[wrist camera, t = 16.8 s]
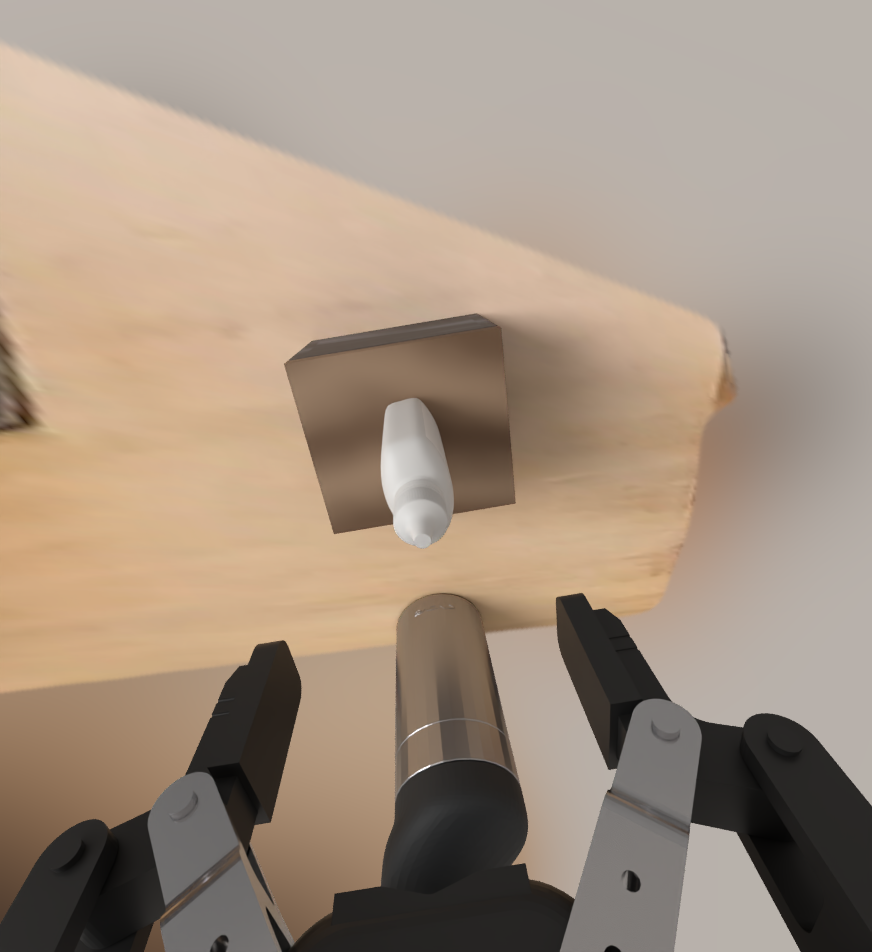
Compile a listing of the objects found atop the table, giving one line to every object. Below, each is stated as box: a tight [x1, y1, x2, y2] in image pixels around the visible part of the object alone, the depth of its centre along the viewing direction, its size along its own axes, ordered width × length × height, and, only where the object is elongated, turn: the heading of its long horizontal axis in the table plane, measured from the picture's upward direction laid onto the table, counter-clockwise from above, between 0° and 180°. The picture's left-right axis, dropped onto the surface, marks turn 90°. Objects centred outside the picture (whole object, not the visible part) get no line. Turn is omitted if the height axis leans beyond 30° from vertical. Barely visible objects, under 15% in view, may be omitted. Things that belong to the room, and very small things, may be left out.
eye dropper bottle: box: [381, 398, 454, 548], centre depth 23 cm, size 4×6×12 cm
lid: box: [284, 326, 516, 534], centre depth 29 cm, size 12×13×1 cm
